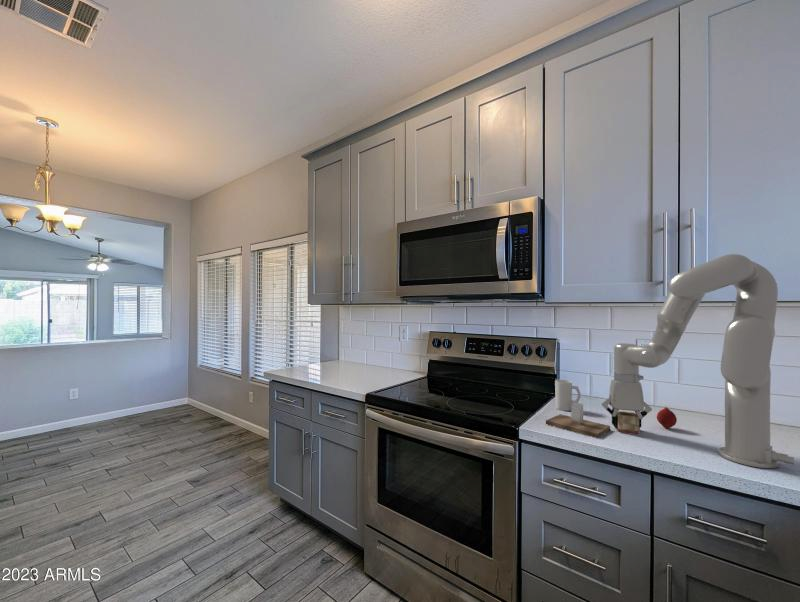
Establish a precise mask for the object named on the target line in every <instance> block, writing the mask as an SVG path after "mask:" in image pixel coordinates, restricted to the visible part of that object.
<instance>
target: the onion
mask: <svg viewBox="0 0 800 602" xmlns="http://www.w3.org/2000/svg"><path fill="white" fill-rule="evenodd" d="M656 419H657V422H658V423H659V424H660V425H661V426H662V427H663V428H664V429H666V430H667V429H670V428H672V427H674V426H675V425H676V424H677V421H678V418H677V415H676V414H675V413H674V412H673V411H672V410H670V409H669V407H667V406H664V407H663V409H660V410H659V411H658V413H657V414H656Z"/></svg>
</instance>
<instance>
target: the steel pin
mask: <svg viewBox="0 0 800 602" xmlns="http://www.w3.org/2000/svg"><path fill="white" fill-rule="evenodd" d="M570 412H571V414H570V415H571V416H570V417H571V423H573V424H577V425H581V424H583V420H584V404H583V403H579V402H578V403H573V404H571V410H570Z"/></svg>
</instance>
